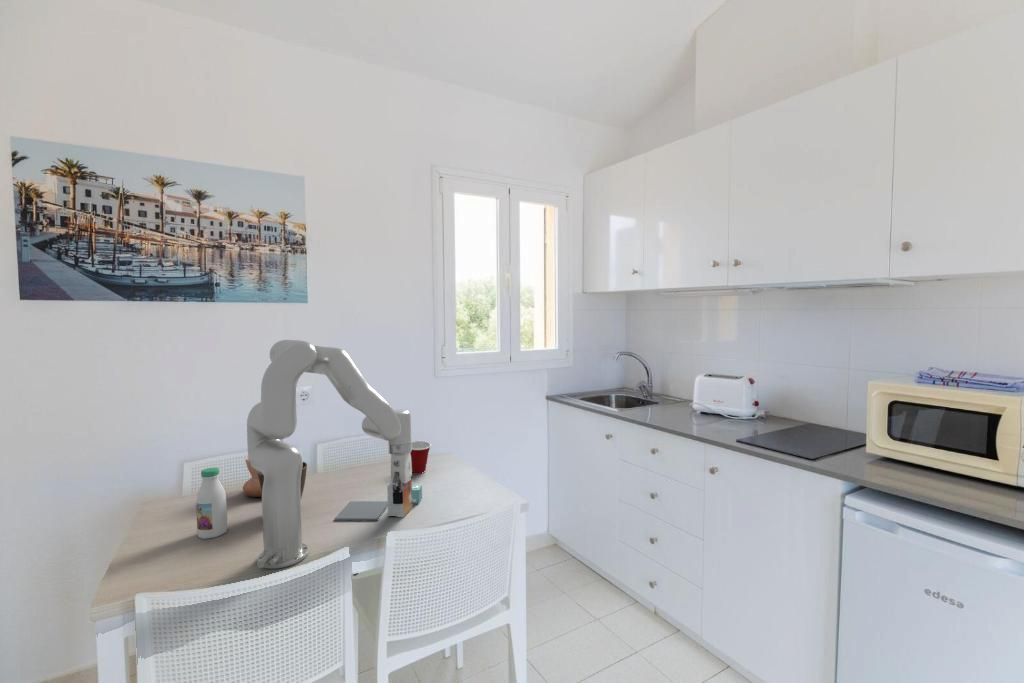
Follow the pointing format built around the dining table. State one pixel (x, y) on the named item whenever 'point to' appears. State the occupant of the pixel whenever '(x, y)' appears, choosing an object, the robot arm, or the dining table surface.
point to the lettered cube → (416, 493)
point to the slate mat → (362, 510)
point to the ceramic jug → (252, 482)
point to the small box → (407, 500)
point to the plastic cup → (419, 455)
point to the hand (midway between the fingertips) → (401, 497)
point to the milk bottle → (211, 505)
